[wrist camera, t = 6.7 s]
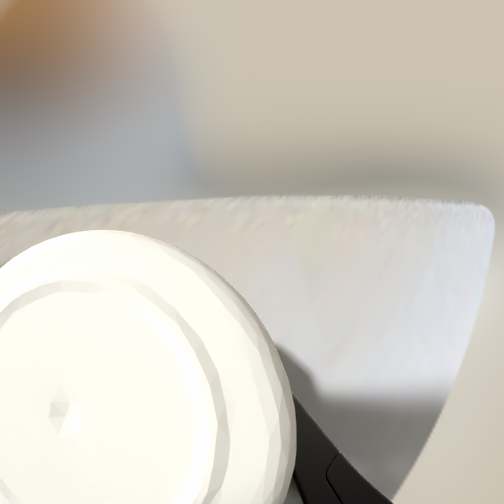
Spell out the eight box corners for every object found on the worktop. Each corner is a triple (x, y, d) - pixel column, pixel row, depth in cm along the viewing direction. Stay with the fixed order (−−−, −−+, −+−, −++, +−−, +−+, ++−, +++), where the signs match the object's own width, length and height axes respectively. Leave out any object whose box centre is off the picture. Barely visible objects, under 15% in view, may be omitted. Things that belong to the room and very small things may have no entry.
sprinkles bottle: (198, 357, 16) (98, 158, 4) (268, 414, 14) (400, 393, 3) (138, 419, 14) (-97, 372, 2) (207, 480, 13) (115, 649, 1)
